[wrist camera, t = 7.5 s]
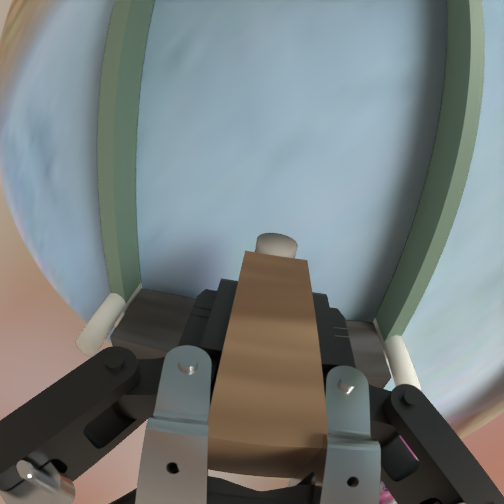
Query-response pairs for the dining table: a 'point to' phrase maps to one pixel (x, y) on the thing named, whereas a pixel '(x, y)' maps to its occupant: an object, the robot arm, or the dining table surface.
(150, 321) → the wooden peg block
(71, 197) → the dining table surface
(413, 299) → the foosball lane
